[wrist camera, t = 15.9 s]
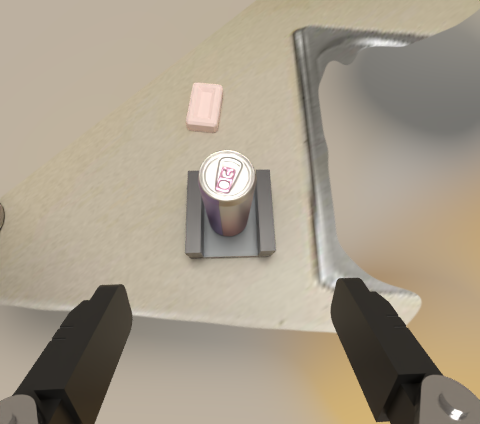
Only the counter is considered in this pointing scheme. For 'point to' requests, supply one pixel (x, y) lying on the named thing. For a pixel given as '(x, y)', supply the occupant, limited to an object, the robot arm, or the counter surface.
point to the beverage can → (227, 190)
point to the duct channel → (241, 245)
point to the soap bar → (204, 107)
